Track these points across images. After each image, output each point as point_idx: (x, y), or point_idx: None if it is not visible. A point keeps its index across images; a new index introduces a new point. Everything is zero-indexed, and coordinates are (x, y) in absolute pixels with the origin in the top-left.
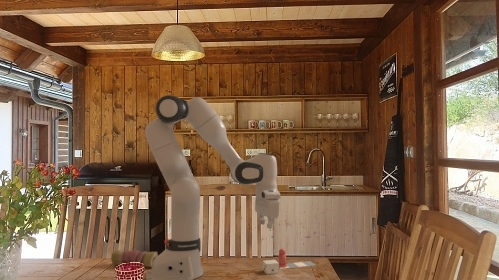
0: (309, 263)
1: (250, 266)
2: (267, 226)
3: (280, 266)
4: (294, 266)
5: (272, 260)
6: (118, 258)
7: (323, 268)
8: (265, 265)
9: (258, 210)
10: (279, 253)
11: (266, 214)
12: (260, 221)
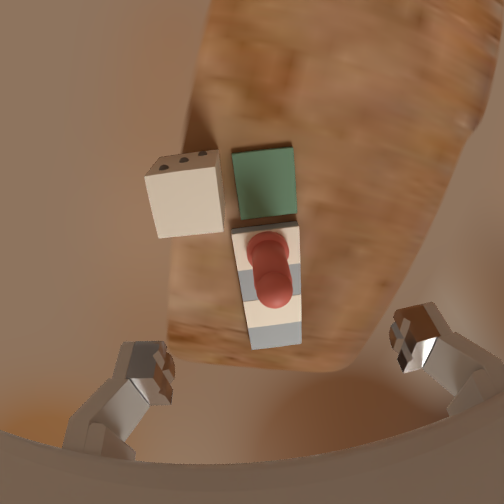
0: (276, 337)
1: (340, 112)
2: (142, 353)
3: (251, 240)
4: (252, 289)
5: (211, 217)
6: None
7: (238, 355)
8: (163, 168)
9: (497, 436)
10: (270, 273)
11: (56, 481)
12: (421, 327)
